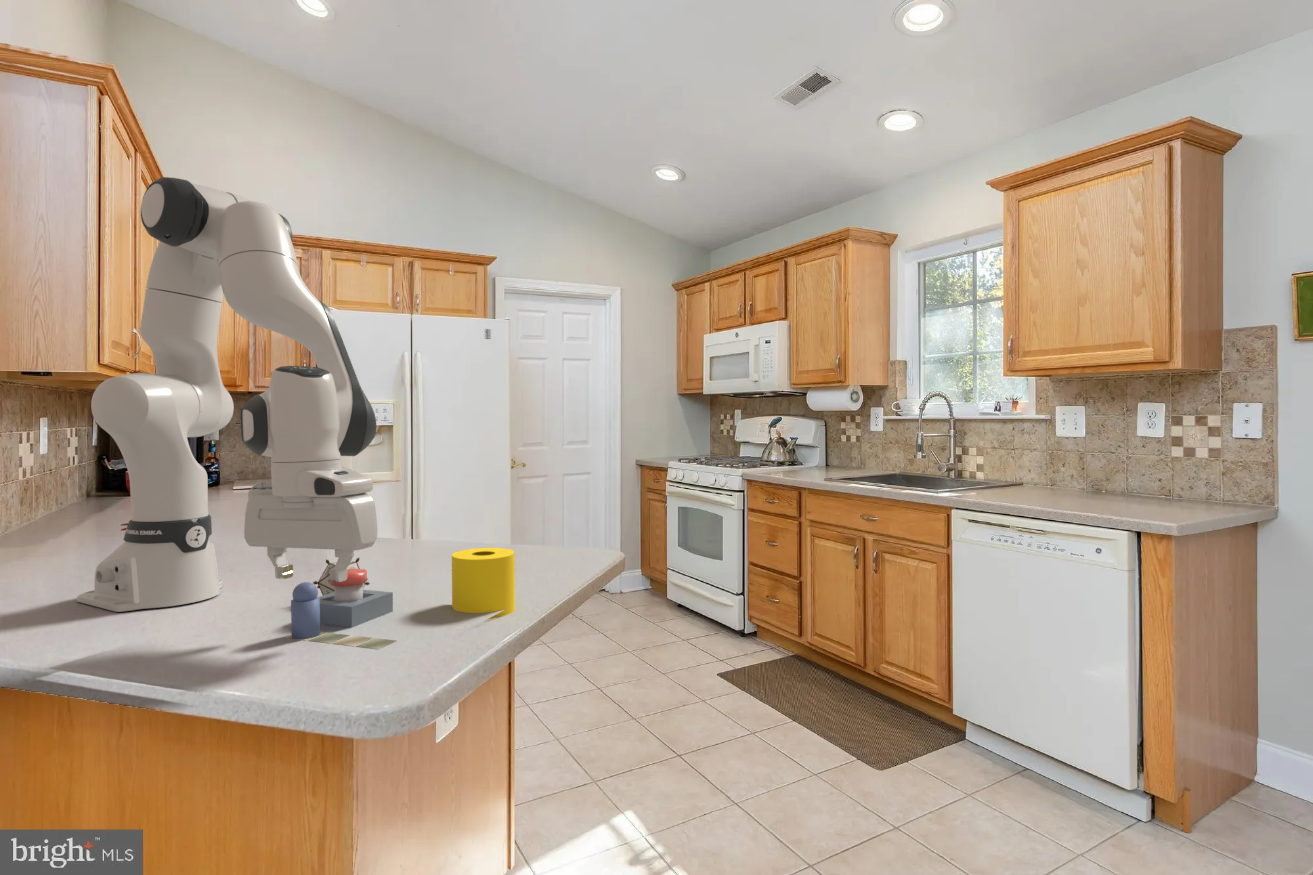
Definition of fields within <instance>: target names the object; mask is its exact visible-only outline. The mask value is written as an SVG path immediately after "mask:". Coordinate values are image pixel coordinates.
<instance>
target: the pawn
mask: <svg viewBox="0 0 1313 875" xmlns="http://www.w3.org/2000/svg"><path fill="white" fill-rule="evenodd" d="M318 595H319V590H318V588H317V585H316V584H313V582H310V581H306V582H300V583H299V584H297V585H296V586H295V587H294V588H293V591H292V599H291V600H290V617H291V620H290V622H291V623H290V624H291V625H290V629H291V635H292V638H295V639H294V640H296V639H303V638H310V637H314V636H317V635H319V634H320V632H321V624H320V598H319V597H320V596H318ZM317 637H318V636H317Z"/></svg>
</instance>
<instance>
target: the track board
mask: <svg viewBox="0 0 1313 875" xmlns="http://www.w3.org/2000/svg"><path fill="white" fill-rule="evenodd" d="M285 639H289V640H297V641H304V642H305V641H306V642H313V643H323V644H328V645H329V644H331V645H339V646H347V647H356V648H363V649H364V648H365V649H373V650H380V649H383V648H385V647H387V646H389V645H391V644H395V643H396V642H397V640H394V639H388V638H387V639H386V638H377V637H374V638H373V637H368V636H361V635H359V636H358V635H352V634H351V635H350V634H342V633H334V632H325V631H320V634H319V635H317V636H314V637H310V638H303V639H295V638H292V634H291V635H288V636H286V637H285Z"/></svg>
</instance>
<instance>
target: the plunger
mask: <svg viewBox="0 0 1313 875" xmlns="http://www.w3.org/2000/svg"><path fill="white" fill-rule="evenodd" d="M367 573H368V572H367V569H364V568H360V569H347V579H346V580H345V581H342V582H333V581H330V585H333V586H334V597H335V601H337V602H347V603H351V602H354V601H357V600H360V599H363V590H364V588H363V583H366V582H368V580H367V579H368V578H367V577H368V576H367Z"/></svg>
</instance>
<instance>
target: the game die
mask: <svg viewBox="0 0 1313 875" xmlns="http://www.w3.org/2000/svg"><path fill="white" fill-rule="evenodd" d="M359 561H360V557H357V558H356V559H355V561H351V562H350V564H349V566H348V567H347V569H361V568H360V566H359V564H358V562H359ZM325 563H326V564H327V565H326V567H325V569H324V570H323V572H322V574H321V576H320V578H319V579H318V581H316V580H315V581H313V582H312V584H314V585H316V588H317V589H319V590H320V593H321V596H323V595H326V594H329V593H332V592H334V586H333V585H330V571H329V569H333V568H335V566H336V563H337V562H330V560H329V559H325ZM368 580H369V578H367V581H366V582H365V583H363V589H364V587H365V586H369V585H371V583H370V582H369V581H368Z"/></svg>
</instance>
